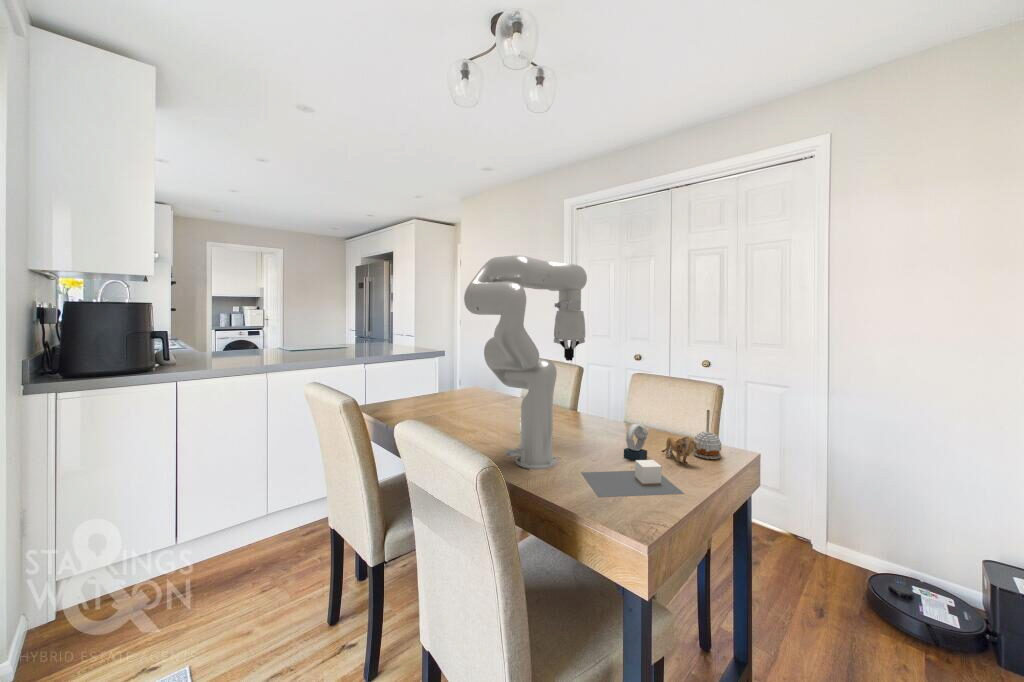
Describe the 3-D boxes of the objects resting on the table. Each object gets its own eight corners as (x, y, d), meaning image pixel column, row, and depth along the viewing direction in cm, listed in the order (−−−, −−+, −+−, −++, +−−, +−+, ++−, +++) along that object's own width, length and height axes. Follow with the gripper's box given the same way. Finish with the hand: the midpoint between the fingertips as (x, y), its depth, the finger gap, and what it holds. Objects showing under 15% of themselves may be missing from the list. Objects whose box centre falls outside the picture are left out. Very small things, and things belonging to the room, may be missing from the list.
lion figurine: (701, 468, 122) (702, 437, 122) (686, 469, 121) (687, 439, 120) (668, 452, 136) (668, 425, 136) (654, 453, 135) (655, 426, 134)
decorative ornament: (710, 452, 137) (712, 406, 136) (725, 460, 129) (727, 412, 128) (688, 452, 136) (690, 407, 135) (702, 461, 128) (703, 413, 127)
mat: (598, 498, 101) (598, 497, 101) (580, 473, 117) (580, 472, 117) (684, 495, 103) (684, 493, 103) (655, 471, 119) (655, 469, 119)
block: (661, 466, 108) (661, 485, 108) (653, 459, 113) (652, 477, 113) (643, 467, 108) (642, 485, 108) (635, 460, 112) (634, 478, 113)
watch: (650, 458, 130) (651, 424, 129) (636, 465, 124) (637, 428, 123) (633, 454, 134) (634, 420, 133) (620, 460, 128) (621, 425, 127)
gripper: (550, 306, 138) (549, 361, 139) (594, 306, 139) (593, 361, 140) (546, 306, 145) (545, 359, 146) (587, 307, 147) (587, 359, 148)
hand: (568, 360), depth 143 cm, fingers closed
